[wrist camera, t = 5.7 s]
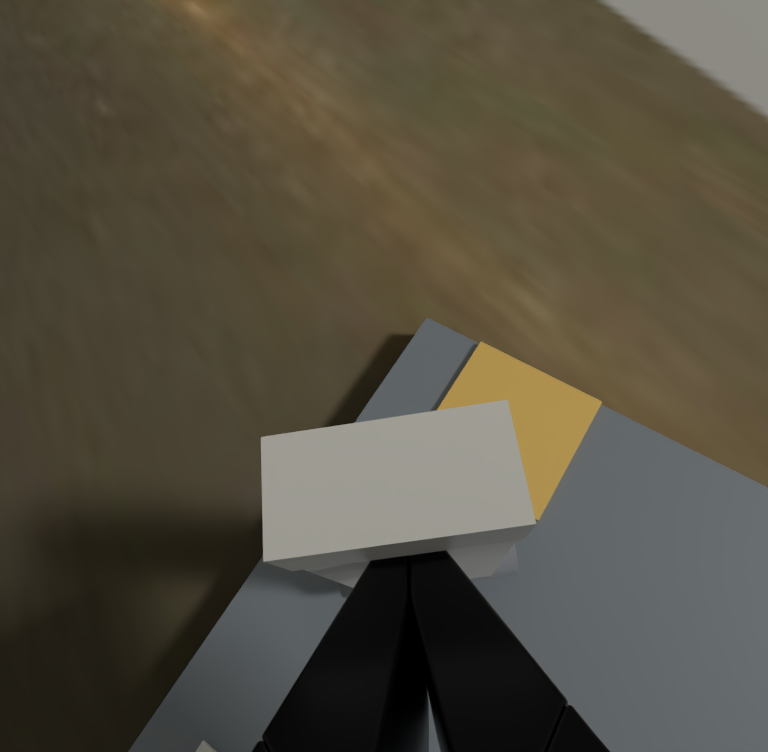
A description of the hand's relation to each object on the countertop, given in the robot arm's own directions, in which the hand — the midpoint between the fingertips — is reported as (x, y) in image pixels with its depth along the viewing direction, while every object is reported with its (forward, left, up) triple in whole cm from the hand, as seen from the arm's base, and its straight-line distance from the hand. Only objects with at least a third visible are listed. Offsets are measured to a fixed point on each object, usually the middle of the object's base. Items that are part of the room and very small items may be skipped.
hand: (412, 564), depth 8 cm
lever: (+1, 0, -6) cm, 6 cm away
